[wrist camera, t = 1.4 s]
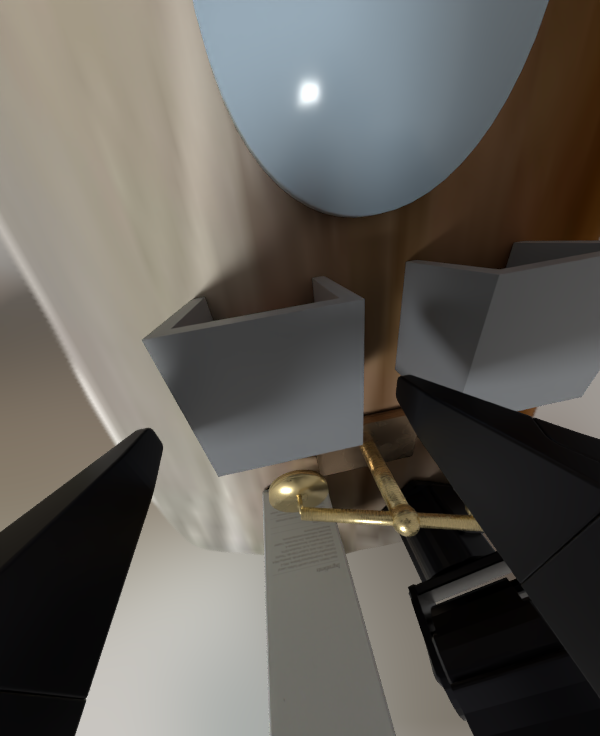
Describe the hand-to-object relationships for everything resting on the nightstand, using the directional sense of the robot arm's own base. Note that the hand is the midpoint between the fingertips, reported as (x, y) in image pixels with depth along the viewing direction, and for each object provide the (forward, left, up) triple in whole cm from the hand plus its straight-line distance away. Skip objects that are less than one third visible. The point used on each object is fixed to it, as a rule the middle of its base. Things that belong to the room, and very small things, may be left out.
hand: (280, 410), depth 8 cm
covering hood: (0, 0, -5) cm, 5 cm away
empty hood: (+5, -9, -5) cm, 12 cm away
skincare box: (-16, -7, -6) cm, 18 cm away
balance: (-5, -9, -5) cm, 12 cm away
